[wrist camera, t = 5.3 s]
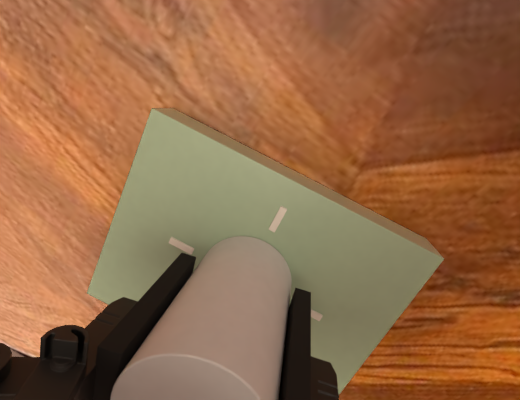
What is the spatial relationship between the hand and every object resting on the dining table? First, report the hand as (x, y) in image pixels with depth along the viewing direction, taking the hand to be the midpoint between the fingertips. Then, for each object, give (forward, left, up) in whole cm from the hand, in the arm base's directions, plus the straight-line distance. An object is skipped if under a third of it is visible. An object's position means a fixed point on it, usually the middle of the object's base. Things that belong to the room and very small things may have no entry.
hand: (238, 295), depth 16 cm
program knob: (0, 0, -2) cm, 2 cm away
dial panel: (0, 0, -4) cm, 4 cm away
